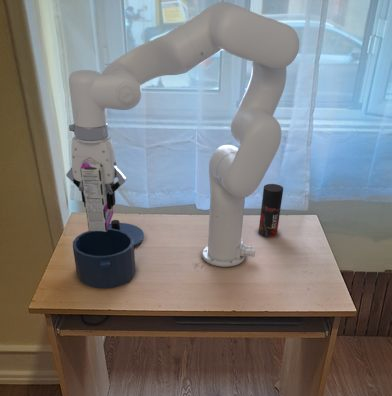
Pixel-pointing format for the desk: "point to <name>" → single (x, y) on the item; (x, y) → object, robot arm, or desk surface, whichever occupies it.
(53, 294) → the desk surface
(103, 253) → the pot
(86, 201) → the candy bar box
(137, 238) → the pot lid
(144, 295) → the desk surface
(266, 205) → the deodorant
